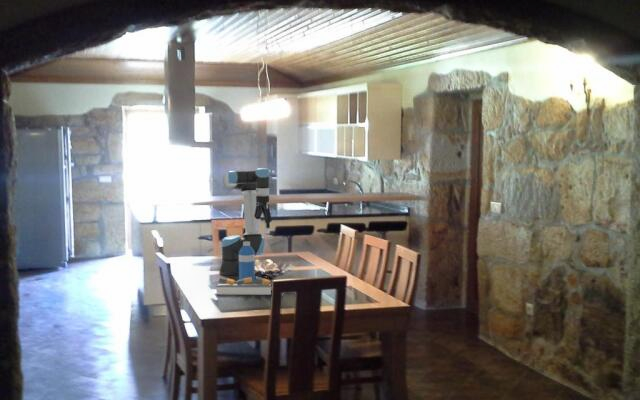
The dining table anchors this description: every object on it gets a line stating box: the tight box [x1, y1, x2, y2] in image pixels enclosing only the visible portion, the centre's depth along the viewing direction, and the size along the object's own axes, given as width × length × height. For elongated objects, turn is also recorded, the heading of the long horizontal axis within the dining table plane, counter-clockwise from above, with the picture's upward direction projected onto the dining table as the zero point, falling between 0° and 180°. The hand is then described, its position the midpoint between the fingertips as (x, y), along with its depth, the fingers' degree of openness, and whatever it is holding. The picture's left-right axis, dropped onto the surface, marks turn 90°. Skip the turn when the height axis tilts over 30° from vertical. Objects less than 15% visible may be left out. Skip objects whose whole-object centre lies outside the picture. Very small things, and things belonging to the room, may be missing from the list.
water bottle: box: [238, 241, 256, 281], centre depth 404 cm, size 9×9×25 cm
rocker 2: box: [236, 277, 252, 285], centre depth 385 cm, size 5×8×2 cm, turn 90°
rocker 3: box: [255, 276, 271, 285], centre depth 384 cm, size 5×8×2 cm, turn 90°
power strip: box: [216, 280, 273, 296], centre depth 385 cm, size 10×30×5 cm, turn 90°
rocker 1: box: [218, 276, 236, 285], centre depth 385 cm, size 5×8×2 cm, turn 90°
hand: (262, 231), depth 398 cm, fingers open, 13 cm apart
